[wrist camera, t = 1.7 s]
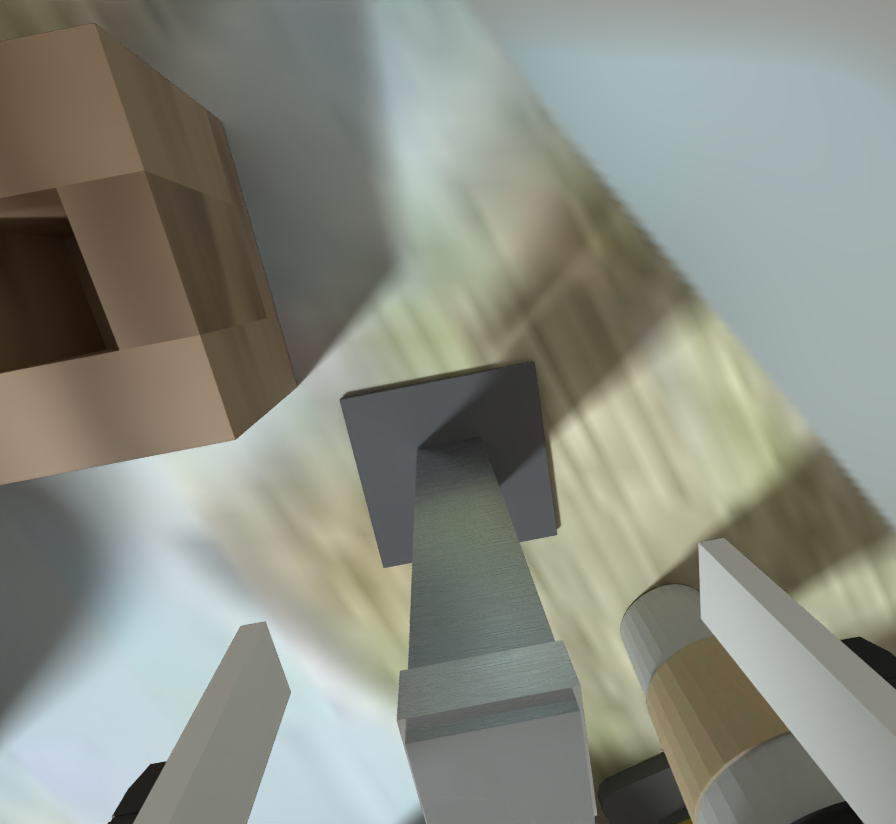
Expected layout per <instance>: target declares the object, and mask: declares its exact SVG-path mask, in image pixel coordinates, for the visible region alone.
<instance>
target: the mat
mask: <svg viewBox="0 0 896 824" xmlns="http://www.w3.org/2000/svg"><path fill="white" fill-rule="evenodd" d="M340 403H341V407H342V411H343V415H344V419H345V422H346V426H347V430H348V434H349V438H350V442H351V445H352V449H353V453H354V457H355V461H356V464H357V468H358V472H359V476H360V480H361V484H362V487H363V491H364V495H365V499H366V503H367V507H368V510H369V514H370V518H371V522H372V526H373V529H374V533H375V537H376V541H377V545H378V549H379V552H380V556H381V560H382V564H383V568H386V567H392V566H397V565H402V564H407V563H412V560H413V535H414V511H415V487H416V462H417V448H420V447H425V446H430V445H436V444H441V443H446V442H451V441H457V440H462V439H467V438H472V437H477V436H481V438H482V441H483V443H484V446H485V449H486V452H487V454H488V457H489V460H490V463H491V465H492V468H493V471H494V474H495V476H496V479H497V482H498V485H499V488H500V490H501V493H502V496H503V499H504V501H505V504H506V507H507V510H508V512H509V515H510V518H511V521H512V523H513V526H514V529H515V532H516V535H517V537H518V540H519V542H523V541H528V540H533V539H538V538H544V537H549V536H554V535H557V528H556V521H555V513H554V506H553V498H552V490H551V483H550V475H549V468H548V460H547V453H546V445H545V438H544V430H543V422H542V415H541V407H540V400H539V392H538V385H537V377H536V370H535V363H534V362H533V361H532V362H527V363H522V364H516V365H511V366H506V367H501V368H496V369H490V370H485V371H480V372H475V373H470V374H464V375H459V376H454V377H449V378H444V379H438V380H433V381H428V382H423V383H418V384H412V385H407V386H402V387H397V388H392V389H386V390H381V391H376V392H371V393H365V394H360V395H355V396H350V397H345V398H341V399H340Z"/></svg>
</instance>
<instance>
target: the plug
mask: <svg viewBox="0 0 896 824" xmlns="http://www.w3.org/2000/svg"><path fill="white" fill-rule="evenodd" d="M397 723H398V727H399V730H400V734H401V737H402V741H403V744H404V748H405V751H406V755H407V759H408V762H409V766H410V769H411V773H412V776H413V780H414V783H415V787H416V790H417V794H418V797H419V801H420V804H421V808H422V812H423V815H424V819H425V822H426V824H595V818H594V816H597V809H596V801H595V794H594V786H593V778H592V771H591V763H590V755H589V748H588V740H587V732H586V724H585V717H584V709H583V701H582V694H581V686H580V683H579V681H578V678H577V675H576V673H575V670H574V668H573V665H572V662H571V660H570V657H569V655H568V652H567V649H566V647H565V644H564V642H563V640H560V641H555V640H554V637H553V634H552V631H551V628H550V626H549V623H548V620H547V617H546V615H545V612H544V609H543V606H542V604H541V601H540V598H539V595H538V593H537V590H536V587H535V584H534V582H533V579H532V576H531V573H530V570H529V568H528V565H527V562H526V559H525V557H524V554H523V551H522V548H521V546H520V543H519V540H518V537H517V535H516V532H515V529H514V526H513V523H512V521H511V518H510V515H509V512H508V510H507V507H506V504H505V501H504V499H503V496H502V493H501V490H500V488H499V485H498V482H497V479H496V476H495V474H494V471H493V468H492V465H491V463H490V460H489V457H488V454H487V452H486V449H485V446H484V443H483V441H482V438H481V436H477V437H472V438H467V439H462V440H457V441H451V442H446V443H441V444H436V445H430V446H425V447H420V448H417V462H416V487H415V511H414V535H413V560H412V584H411V609H410V633H409V657H408V669H407V670H402V671H400V675H399V692H398V708H397Z"/></svg>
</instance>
